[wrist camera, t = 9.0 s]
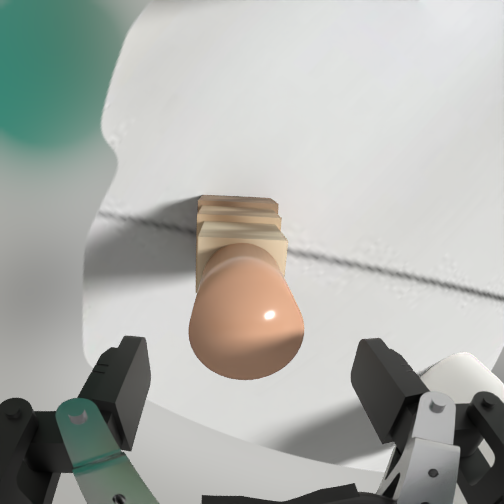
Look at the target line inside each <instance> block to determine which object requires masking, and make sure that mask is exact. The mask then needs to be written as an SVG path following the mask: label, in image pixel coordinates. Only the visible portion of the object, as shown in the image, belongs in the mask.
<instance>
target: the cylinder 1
mask: <svg viewBox="0 0 504 504" xmlns="http://www.w3.org/2000/svg"><path fill="white" fill-rule="evenodd" d="M303 336H304V322H303V318H302V315H301V312H300V310H299V308H298V306H297V304H296V301H295V299H294V297H293V295H292V293H291V291H290V289H289V287H288V284H287V282H286V280H285V278H284V276H283V274H282V272H281V270H280V268H279V266H278V263H277V262H276V260H275V259H274V258H273V256H272V255H271V254H270V253H269V252H267V251H266V250H265V249H263V248H261V247H259V246H256V245H253V244H249V243H236V244H231V245H228V246H225V247H223V248H221V249H220V250H218V251H217V252H215V253H214V254H213V255H212V256H211V257H210V259H209V260H208V261H207V263H206V265H205V267H204V270H203V273H202V277H201V280H200V284H199V288H198V292H197V295H196V299H195V303H194V307H193V311H192V315H191V319H190V323H189V340H190V344H191V347H192V349H193V351H194V353H195V355H196V356H197V358H198V359H199V360H200V361H201V362H202V363H203V364H204V365H205V366H206V367H207V368H209V369H210V370H211V371H213V372H215V373H217V374H219V375H221V376H224V377H227V378H231V379H238V380H253V379H259V378H263V377H266V376H269V375H271V374H273V373H275V372H277V371H279V370H281V369H282V368H283V367H285V366H286V365H287V364H288V363H289V362H290V361H291V360H292V359H293V358H294V357H295V355H296V354H297V352H298V350H299V348H300V346H301V344H302V341H303Z"/></svg>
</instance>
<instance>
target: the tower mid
mask: <svg viewBox="0 0 504 504" xmlns="http://www.w3.org/2000/svg"><path fill="white" fill-rule="evenodd" d="M204 221H222V222H244V223H264V224H275V225H276V226H277V228H278V229H279V230H281V217H280V216H279V215H278V214H277V213H276V212H275V211H274V210H272V209H269V208H252V207H233V206H212V205H202V207H201V209H200V210H199V212H198V214H197V237H196V293H197V273H198V236H199V233H200V231H201V228H202V226H203V223H204Z"/></svg>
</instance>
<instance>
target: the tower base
mask: <svg viewBox="0 0 504 504" xmlns="http://www.w3.org/2000/svg"><path fill="white" fill-rule="evenodd" d="M202 205H212V206H233V207H252V208H269V209H272V210H274V211H275V212H276V213H277V214H278V203H276V202H275V201H274V200H272V199H271V198H258V197H239V196H217V195H202V196H201V197H200V198H199V200H198V212H199V210H200V209H201V207H202Z"/></svg>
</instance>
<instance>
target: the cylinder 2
mask: <svg viewBox="0 0 504 504" xmlns="http://www.w3.org/2000/svg"><path fill="white" fill-rule="evenodd" d="M420 379H421V380H422V382H423V383H424V384H425V385H426V387H427V388H428V389H429V390H430V391H437V392H441V393H444V394H446V395H448V396H449V397H450V398H451V399H452V400H453V401H454V403H455V404H460V403H470V402H471V400H472V399H473V397H474V395H475V394H476V393H478V392H481V391H487V392H490V393H493V394H495V395H496V396H498V397H499V398H500V399H501V401H502V402H503V403H504V384H503V383H502V382H501V381H500V380H499V379H498V378H497V377H496V376H495V375H494V374H493V373H492V372H491V371H490V370H489V369H487V368H486V367H485V366H484V365H483V364H482V363H481V362H480V361H479V360H478V359H477V358H476V357H474V356H473V355H472V354H471V353H466V352H461V353H456V354H453V355H451V356H449V357H447V358H445V359H443V360H441V361H440V362H438V363H437V364H435V365H434V366H432V367H431V368H430V369H429V370H428V371H427V372H426V373H424V374H423V375H422V376H421V377H420ZM478 448H479V449H480V451H481V453H482V454H483V456H484V457H485V459H486V460H487V462H488V463H489V465H490V467H492V466H493V464H494V461H495V456H494V453H493V451H492V450H491V448H490V447H489V445H488V444H487V442H486V441H485V439H483V441H482V442H481V444H480V445H479V446H478ZM453 504H467V502H466V500H465V498H464V496H463V494H462V492H461V490H460V488H459V486H458V484H457V483H456V489H455V495H454V500H453Z"/></svg>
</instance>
